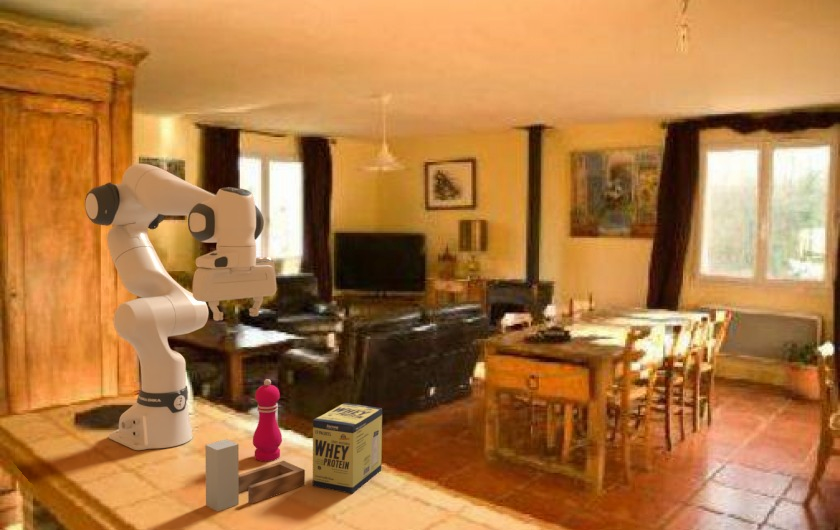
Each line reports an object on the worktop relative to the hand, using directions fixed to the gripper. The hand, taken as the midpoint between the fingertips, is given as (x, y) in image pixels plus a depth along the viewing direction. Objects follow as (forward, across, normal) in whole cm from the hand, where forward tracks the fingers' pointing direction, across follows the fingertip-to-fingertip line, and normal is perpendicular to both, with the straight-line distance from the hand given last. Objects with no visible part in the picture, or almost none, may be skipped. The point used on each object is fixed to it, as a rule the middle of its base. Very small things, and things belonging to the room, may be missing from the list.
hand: (236, 318), depth 153 cm
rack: (+37, 0, +12) cm, 39 cm away
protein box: (+37, -17, +20) cm, 46 cm away
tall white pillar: (+37, +11, +12) cm, 41 cm away
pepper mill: (+37, -11, -4) cm, 39 cm away
